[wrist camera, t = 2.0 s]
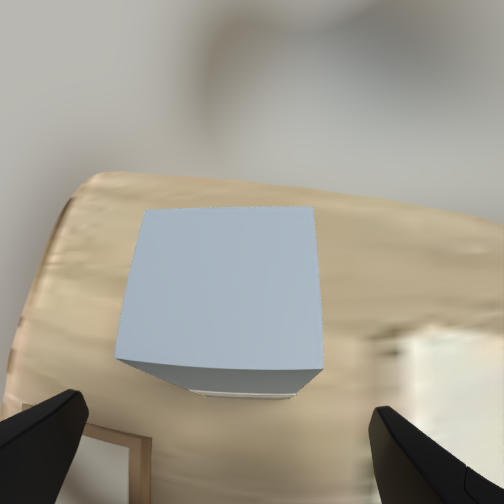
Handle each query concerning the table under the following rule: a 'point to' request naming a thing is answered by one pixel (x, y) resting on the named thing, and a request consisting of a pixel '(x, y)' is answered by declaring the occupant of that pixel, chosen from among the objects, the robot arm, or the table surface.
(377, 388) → the table surface
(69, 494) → the tray
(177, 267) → the carton
